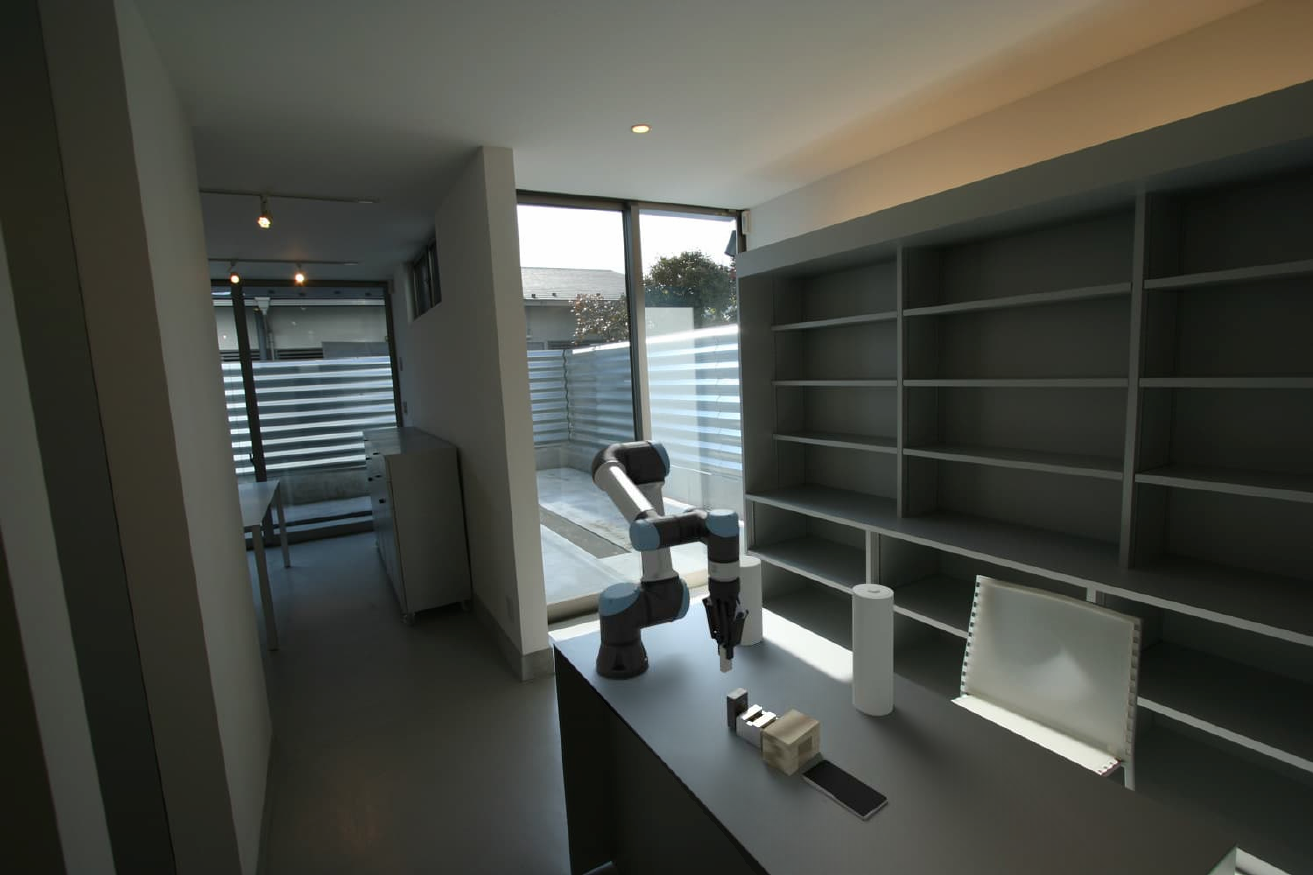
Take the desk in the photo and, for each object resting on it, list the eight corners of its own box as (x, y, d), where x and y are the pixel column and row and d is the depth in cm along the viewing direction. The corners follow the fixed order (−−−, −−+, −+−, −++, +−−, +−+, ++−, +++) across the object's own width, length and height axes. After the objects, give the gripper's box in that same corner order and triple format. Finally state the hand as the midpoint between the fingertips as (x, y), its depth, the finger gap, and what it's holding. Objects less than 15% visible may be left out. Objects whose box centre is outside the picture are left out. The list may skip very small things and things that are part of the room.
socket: (763, 759, 129) (762, 729, 128) (793, 737, 136) (793, 708, 135) (789, 775, 124) (789, 744, 123) (819, 751, 131) (819, 721, 130)
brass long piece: (727, 726, 141) (726, 695, 140) (740, 717, 144) (739, 687, 143) (790, 762, 127) (789, 728, 126) (803, 751, 131) (802, 718, 130)
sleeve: (736, 735, 138) (736, 715, 137) (754, 724, 142) (754, 703, 141) (760, 749, 132) (760, 728, 132) (778, 737, 137) (777, 715, 136)
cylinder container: (896, 717, 142) (897, 597, 138) (855, 714, 144) (854, 595, 140) (889, 695, 151) (889, 582, 148) (850, 692, 153) (850, 581, 150)
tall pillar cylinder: (754, 648, 179) (752, 568, 176) (722, 641, 185) (720, 563, 181) (768, 634, 188) (766, 558, 184) (737, 627, 193) (735, 553, 190)
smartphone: (864, 817, 111) (800, 774, 123) (864, 823, 111) (800, 779, 123) (888, 797, 116) (825, 757, 128) (888, 803, 116) (825, 763, 128)
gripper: (692, 573, 142) (695, 665, 145) (734, 587, 132) (736, 686, 135) (714, 565, 147) (716, 654, 150) (755, 578, 137) (757, 674, 140)
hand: (726, 669), depth 143 cm, fingers closed
